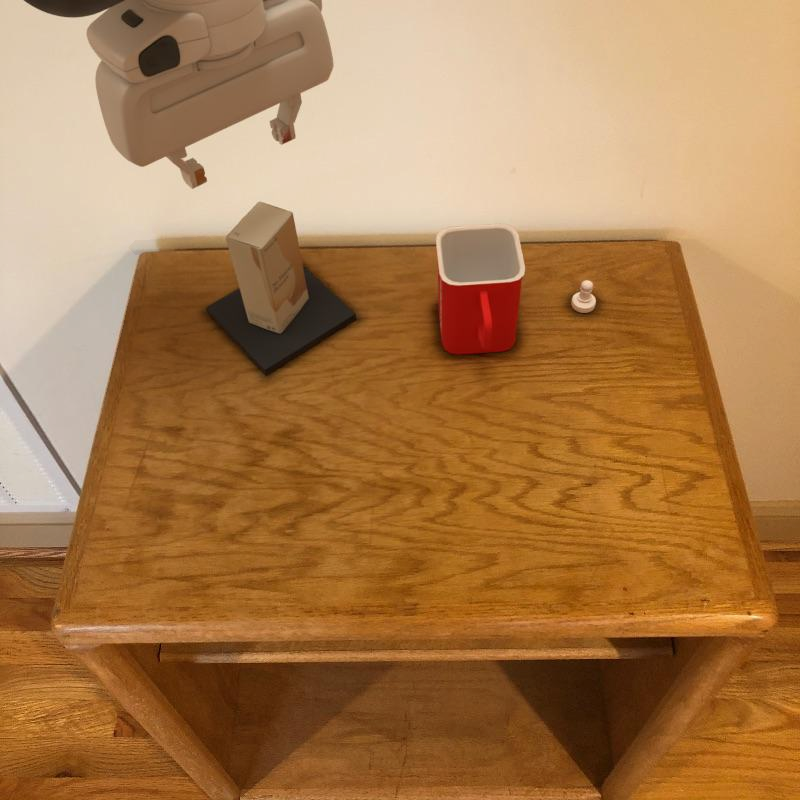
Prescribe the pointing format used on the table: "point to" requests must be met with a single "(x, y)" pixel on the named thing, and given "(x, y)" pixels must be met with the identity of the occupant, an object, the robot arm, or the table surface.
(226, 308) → the rubber mat
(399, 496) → the table surface
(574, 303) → the chess pawn
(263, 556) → the table surface
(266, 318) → the cosmetic box
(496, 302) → the mug
